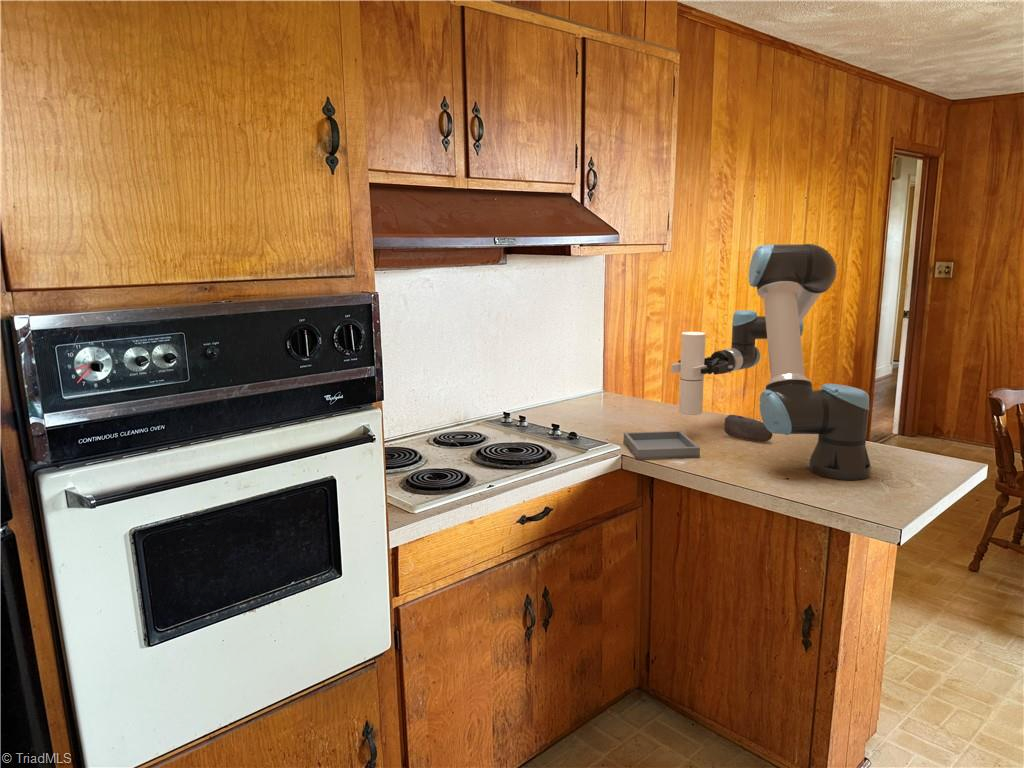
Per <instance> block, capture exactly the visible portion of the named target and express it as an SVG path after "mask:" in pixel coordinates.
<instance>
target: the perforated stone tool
mask: <svg viewBox="0 0 1024 768" xmlns="http://www.w3.org/2000/svg"><path fill="white" fill-rule="evenodd" d="M723 425H724V426H723V427H724V432H725V434H727V435H728V436H730V437H733V438H737V439H741V440H746V441H752V442H753V441H754V442H761V443H762V442H769V441H770V440H772V438H773V434H774V433H771V432H770V431H768V430H767V428H766V427H765V425H764V423H763V421H760V420H757V419H754V418H751V417H745V416H743V415H742V416H741V415H737V414H729V415H727V416H726V417H725V418H724V424H723Z"/></svg>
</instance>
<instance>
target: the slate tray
mask: <svg viewBox="0 0 1024 768" xmlns="http://www.w3.org/2000/svg"><path fill="white" fill-rule="evenodd" d="M623 443H624V445H625V446H626V445H627V446H628V447H629V448H628V447H627V446H626V447H627V448H628V450H629V451H630V450H631V451H632V452H633V453H632V452H631V451H630V452H631V453H632V455H633V456H634V455H635V456H636V457H635V456H634V457H635V458H636V459H637V460H638V461H644V460H643V459H652V460H671V459H672V460H673V458H674V459H675V460H676V458H677V459H695V458H696V459H699V458H700V456H701V447H700V446H699V445H697V443H695V442H694V441H693V440H692V439H691V438H690V437H688V435H686V434H685V433H684V432H683V431H682V430H666V431H660V430H659V431H636V432H623ZM666 458H667V459H666Z"/></svg>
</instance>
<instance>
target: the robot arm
mask: <svg viewBox="0 0 1024 768" xmlns="http://www.w3.org/2000/svg"><path fill="white" fill-rule="evenodd" d="M837 270H838V269H837V264H836V262H835V258H834V257H833V256H832V254H831V253H830V252H829V251H828V250H827V249H825V248H824V247H821V246H820V245H818V244H811V243H805V244H803V243H802V244H799V243H798V244H794V243H793V244H774V243H772V244H762V245H759V246H757V247H756V248H755V250H754V251H753V253H752V255H751V260H750V264H749V269H748V283H749V286H751V287H752V288H756V293H757V296H759V297H760V298H761V299H762V300H763V306H764V315H763V316H761V315H758V313H757V311H755V310H748V309H746V310H745V309H742V310H741V309H739V310H736V311H734V313H733V315H732V324H731V345H730V346H731V348H725V349H721V350H717V351H714V352H713V353H711V355H710V356H707V357H705V359H704V365H703V366H698V367H694V368H692V377H696V376H700V375H704V376H705V375H707V374H708V375H712V374H713V375H717V376H718V375H722V374H727V373H729V374H732V373H733V372H735V371H739V370H744V369H750V368H752V367H754V366H756V365H758V363H759V362H760V359H761V353H760V350H759V348H758V347H757V346H756V340H767V350H768V351H767V352H768V362H769V371H770V380H769V381H768V382H767V384H766V385H765V389H764V390H763V391H761V393H760V394H759V395H760V396H759V413H760V417H761V420H762V423H764V425H765V427H766V428H767V430H768V431H770V432H771V433H772V434H775V435H777V434H778V435H785V436H789V435H818V436H817V442H816V445H815V447H814V449H813V451H812V453H811V455H810V458H809V462H808V463H809V464H808V469H809V471H811V472H812V473H814V474H816V475H819V476H821V477H824V478H825V477H826V478H829V479H835V480H843V481H844V480H845V481H858V480H864V479H867V478H869V477H870V476H871V471H872V466H871V463H870V462H871V461H870V458H869V454H868V450H867V447H866V446H867V445H866V442H867V435H868V434H867V432H868V426H869V425H868V424H869V416H870V415H869V413H870V395H869V394H868V393H867V392H866V391H865V390H863V389H860V388H857V387H853V386H850V385H846V384H845V385H844V384H838V383H824V384H822V386H821V388H820V389H819V390H818V389H817V390H816V389H813V385H812V384H813V383H812V382H813V381H811V380H810V379H808V377H806V376H805V367H804V366H805V365H804V357H803V348H802V338H801V337H802V336H803V331H804V319H805V317H806V316H807V315H808V313H809V312H810V310H811V309H812V307H813V306H814V304H815V303H816V302H817V300H818V298H819V297H820V296H821V295H822V294H823V293H826V292H827V291H829V289H830V288H831V286H832V285H833V284H834V282H835V280H836V278H837V277H836V276H837ZM680 366H681V359H680V360H678V362H677V363H673V364H670V374H677V373H680Z"/></svg>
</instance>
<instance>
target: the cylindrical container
mask: <svg viewBox="0 0 1024 768" xmlns="http://www.w3.org/2000/svg"><path fill="white" fill-rule="evenodd" d="M705 356H706V333H705V332H702V331H684V332H681V343H680V360H681V366H680V372H679V398H678V404H679V405H678V413H679V414H682V415H686V416H698V415H702V414H703V403H704V402H703V401H704V398H703V397H704V383H705V382H704V381H705V379H704V377H705V375H700V376H696V377H692V368H694V367H698V366H703V365H704V359H705V358H706V357H705Z"/></svg>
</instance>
